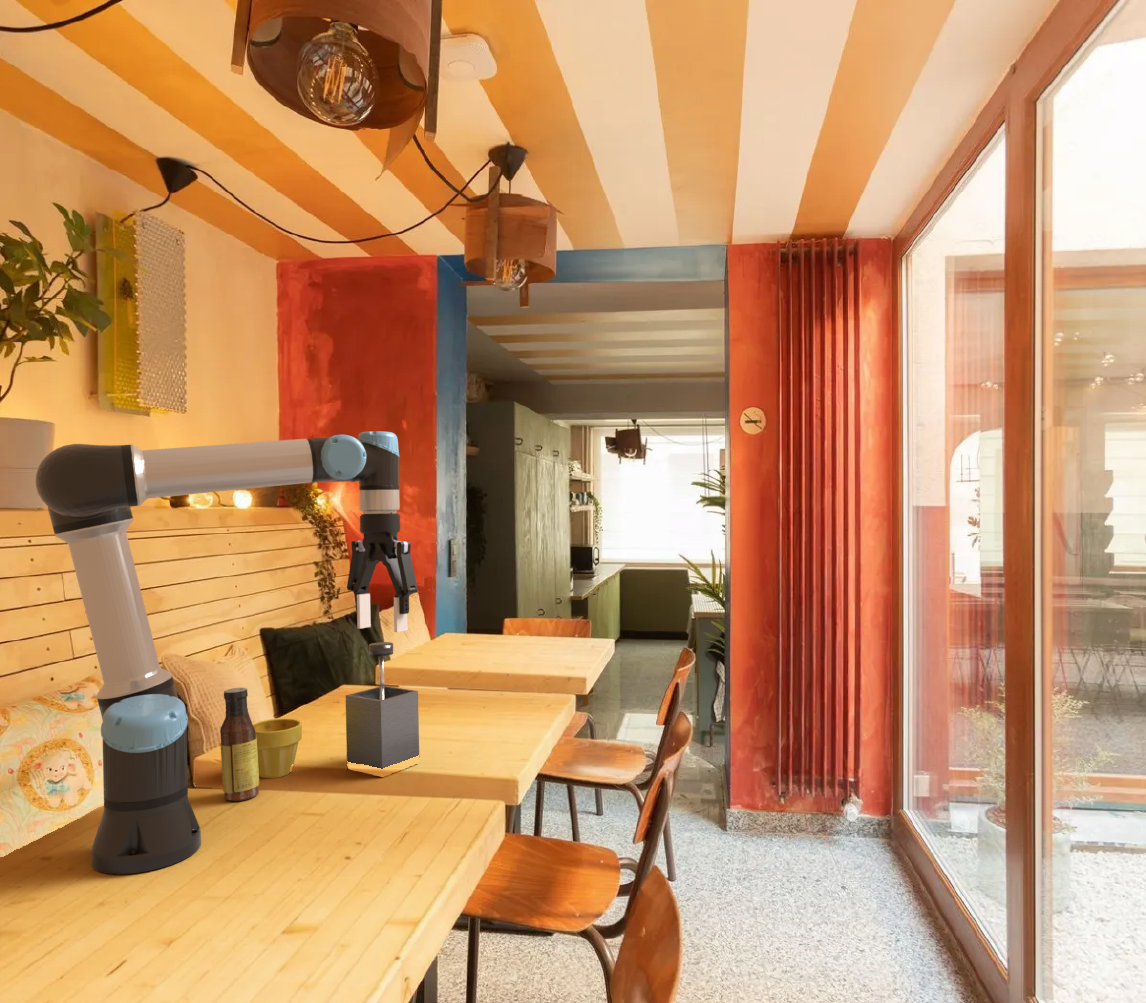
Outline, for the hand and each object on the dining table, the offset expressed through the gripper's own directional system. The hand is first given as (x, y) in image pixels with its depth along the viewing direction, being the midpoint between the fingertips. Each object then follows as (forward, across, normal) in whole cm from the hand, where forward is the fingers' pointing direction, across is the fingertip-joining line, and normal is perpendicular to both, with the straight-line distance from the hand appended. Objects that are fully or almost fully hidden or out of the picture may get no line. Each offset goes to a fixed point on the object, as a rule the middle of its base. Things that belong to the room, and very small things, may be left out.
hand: (382, 629), depth 160 cm
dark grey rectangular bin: (+30, +8, -9) cm, 32 cm away
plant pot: (+30, +24, +7) cm, 39 cm away
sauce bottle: (+30, +18, +19) cm, 40 cm away
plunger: (+18, +8, -7) cm, 21 cm away
